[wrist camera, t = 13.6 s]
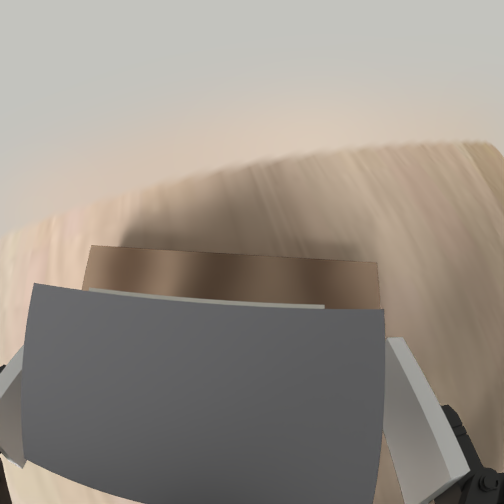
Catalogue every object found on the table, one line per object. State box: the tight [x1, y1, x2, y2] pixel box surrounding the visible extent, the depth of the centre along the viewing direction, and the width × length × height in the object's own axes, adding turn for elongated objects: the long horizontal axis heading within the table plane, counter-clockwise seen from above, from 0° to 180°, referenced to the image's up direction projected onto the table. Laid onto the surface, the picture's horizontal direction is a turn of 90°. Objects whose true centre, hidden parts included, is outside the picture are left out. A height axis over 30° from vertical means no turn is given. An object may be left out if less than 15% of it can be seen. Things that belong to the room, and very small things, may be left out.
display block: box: [82, 245, 380, 309], centre depth 18 cm, size 20×16×4 cm
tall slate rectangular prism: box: [21, 283, 385, 504], centre depth 10 cm, size 8×5×12 cm, turn 87°
